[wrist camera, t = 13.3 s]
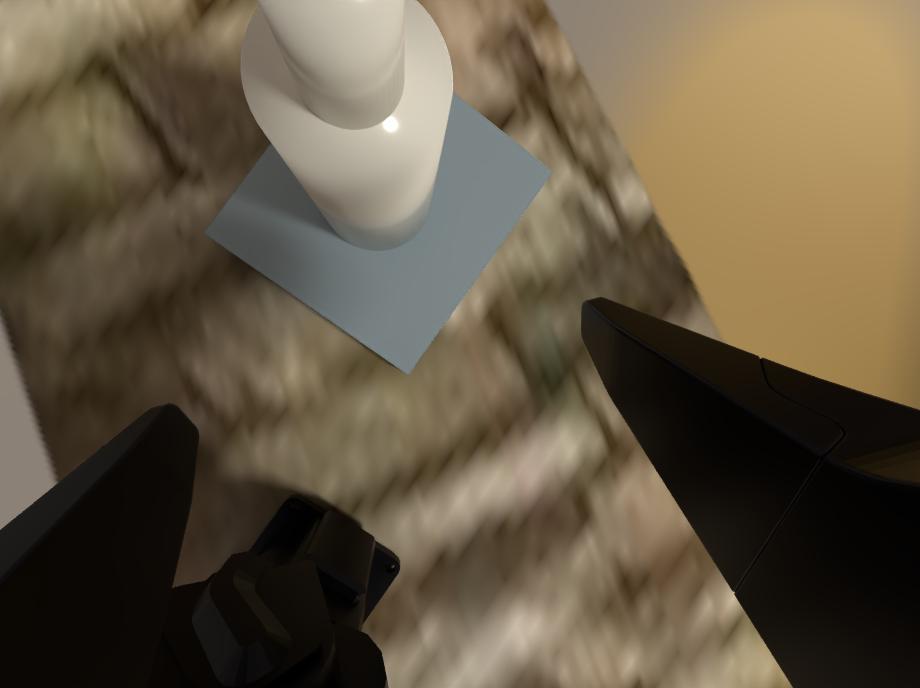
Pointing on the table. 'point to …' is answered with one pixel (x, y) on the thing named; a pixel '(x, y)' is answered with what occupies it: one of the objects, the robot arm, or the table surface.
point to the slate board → (396, 270)
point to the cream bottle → (353, 108)
